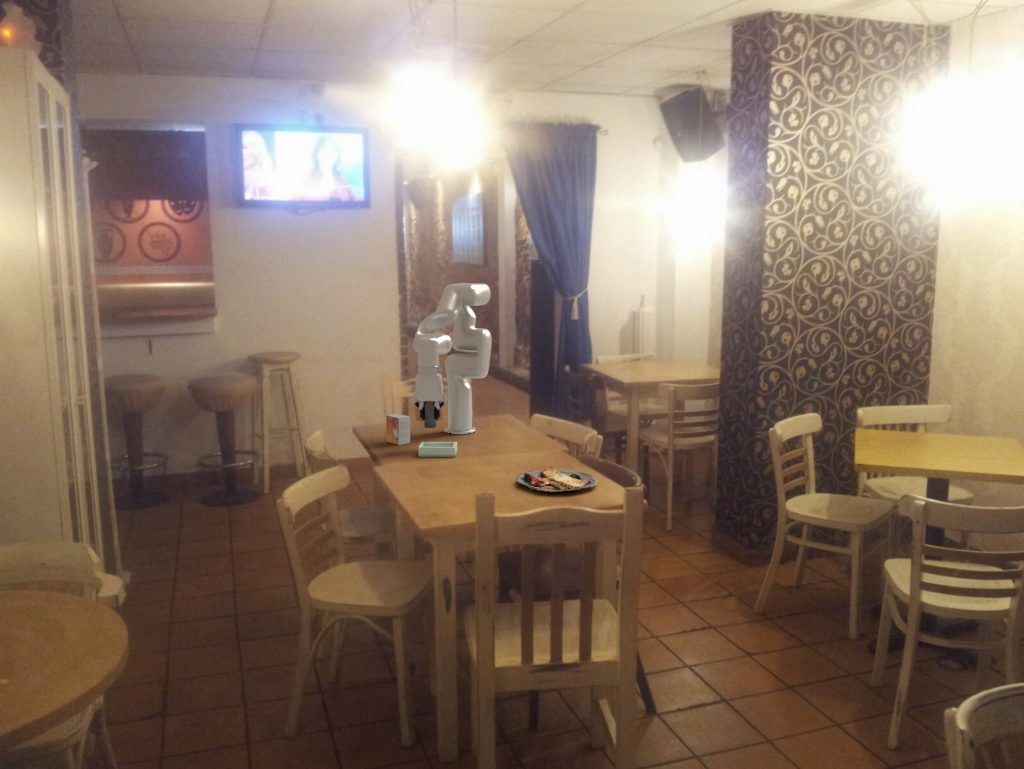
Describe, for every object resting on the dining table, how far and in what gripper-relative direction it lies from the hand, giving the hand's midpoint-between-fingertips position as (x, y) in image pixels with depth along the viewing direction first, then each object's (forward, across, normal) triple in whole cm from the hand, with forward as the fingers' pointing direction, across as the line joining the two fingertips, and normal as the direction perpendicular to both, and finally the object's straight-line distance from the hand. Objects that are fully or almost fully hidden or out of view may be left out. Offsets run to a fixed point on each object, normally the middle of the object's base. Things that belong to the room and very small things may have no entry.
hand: (430, 419), depth 325 cm
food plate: (+10, -45, +51) cm, 69 cm away
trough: (+11, -4, +10) cm, 15 cm away
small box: (+11, +13, -9) cm, 20 cm away
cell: (+3, 0, 0) cm, 3 cm away
